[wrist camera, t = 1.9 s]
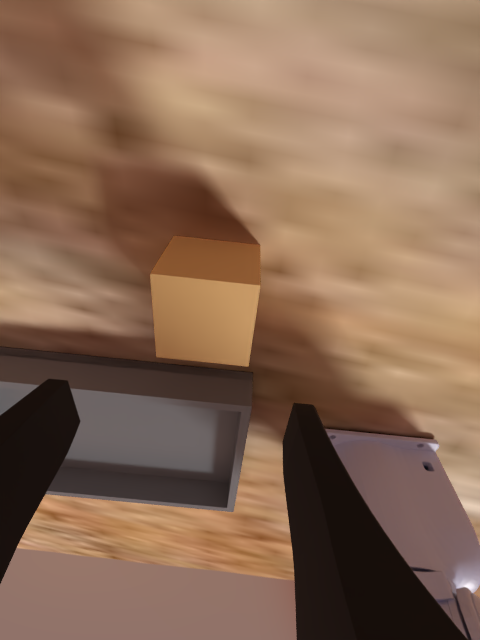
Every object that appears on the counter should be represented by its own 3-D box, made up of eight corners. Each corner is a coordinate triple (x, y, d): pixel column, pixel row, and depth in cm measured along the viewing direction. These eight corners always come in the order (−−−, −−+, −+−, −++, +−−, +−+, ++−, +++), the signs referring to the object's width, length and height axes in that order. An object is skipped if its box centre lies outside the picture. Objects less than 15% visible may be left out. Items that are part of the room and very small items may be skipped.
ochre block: (260, 244, 17) (260, 285, 13) (250, 315, 20) (248, 366, 16) (174, 234, 17) (150, 273, 13) (176, 307, 19) (156, 357, 16)
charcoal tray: (252, 372, 22) (252, 406, 20) (235, 478, 30) (233, 512, 28) (-36, 343, 22) (-74, 374, 19) (24, 457, 30) (3, 490, 27)
